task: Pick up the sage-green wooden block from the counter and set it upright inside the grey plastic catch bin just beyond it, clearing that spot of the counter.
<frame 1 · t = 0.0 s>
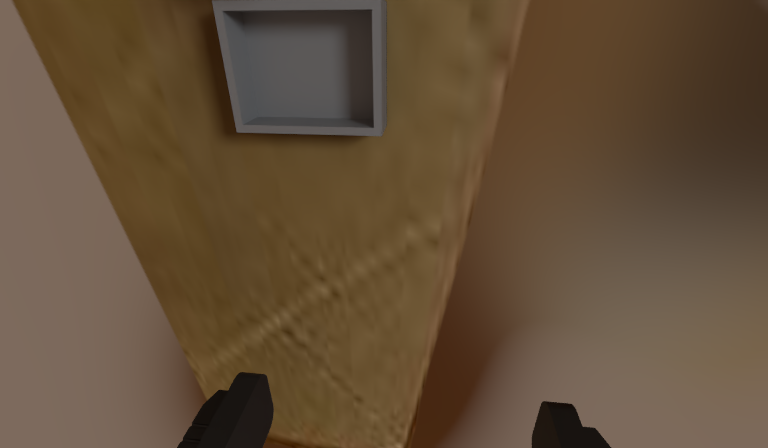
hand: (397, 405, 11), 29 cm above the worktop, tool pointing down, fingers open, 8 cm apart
catch bin: (314, 67, 35), on the worktop
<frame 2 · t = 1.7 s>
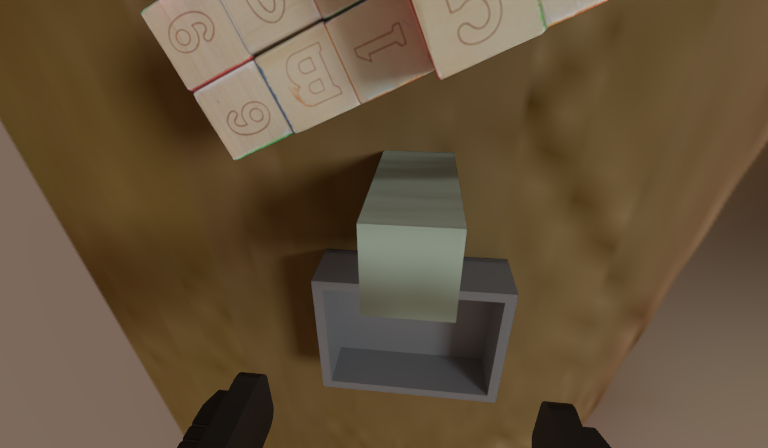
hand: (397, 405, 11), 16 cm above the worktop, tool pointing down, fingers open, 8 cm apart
sage block: (417, 187, 25), on the worktop
catch bin: (412, 308, 30), on the worktop
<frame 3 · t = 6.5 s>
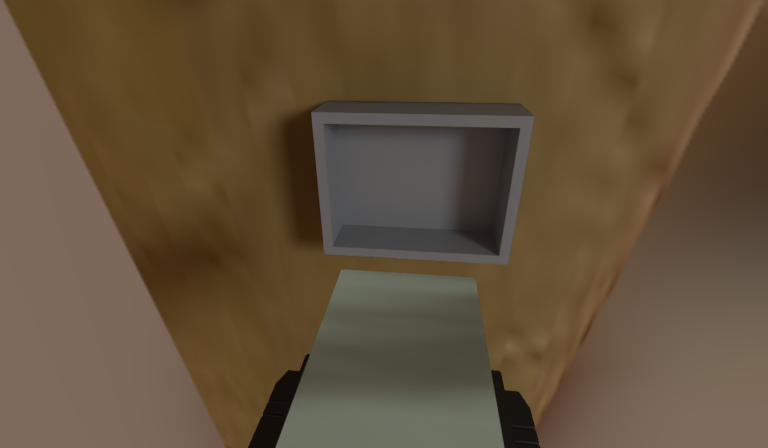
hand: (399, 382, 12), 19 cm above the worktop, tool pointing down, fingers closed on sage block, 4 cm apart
sage block: (405, 329, 14), point 17 cm above the worktop, touching gripper
catch bin: (418, 173, 28), on the worktop
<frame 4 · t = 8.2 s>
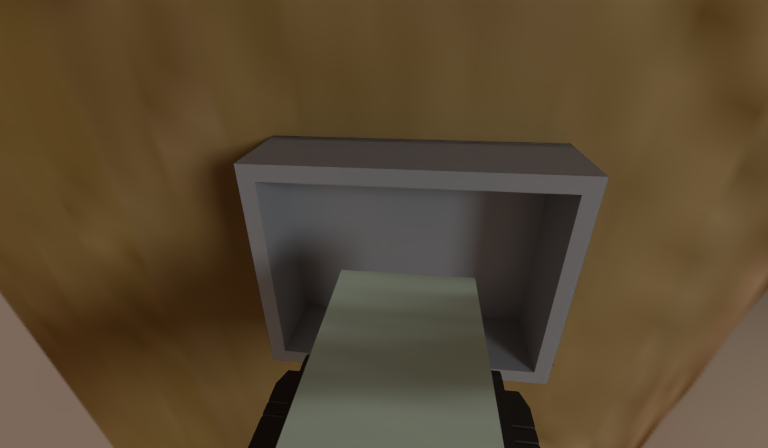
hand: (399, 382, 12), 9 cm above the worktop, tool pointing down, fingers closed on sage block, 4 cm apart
sage block: (405, 329, 14), point 6 cm above the worktop, touching gripper
catch bin: (412, 238, 19), on the worktop
when the fingers open (4 cm above the worktop, at t = 9.5 s): sage block drops 1 cm, resting on catch bin.
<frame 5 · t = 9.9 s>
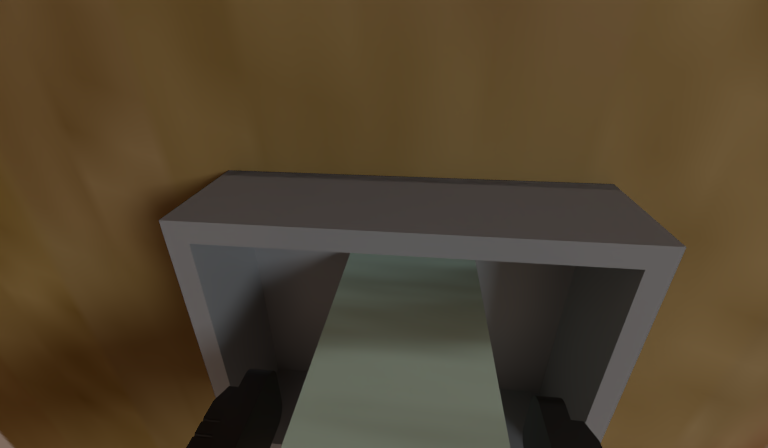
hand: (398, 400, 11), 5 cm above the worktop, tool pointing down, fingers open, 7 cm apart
sage block: (409, 303, 15), resting on catch bin
catch bin: (407, 295, 15), on the worktop
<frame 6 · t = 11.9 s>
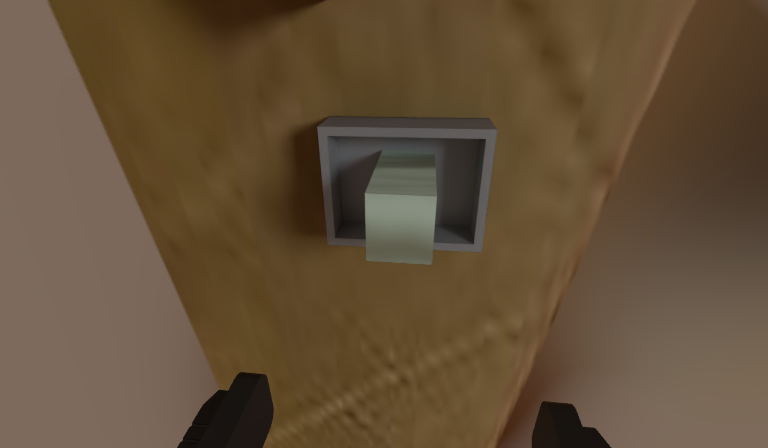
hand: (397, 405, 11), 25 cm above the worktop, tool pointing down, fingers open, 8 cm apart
sage block: (407, 177, 33), resting on catch bin
catch bin: (406, 176, 34), on the worktop
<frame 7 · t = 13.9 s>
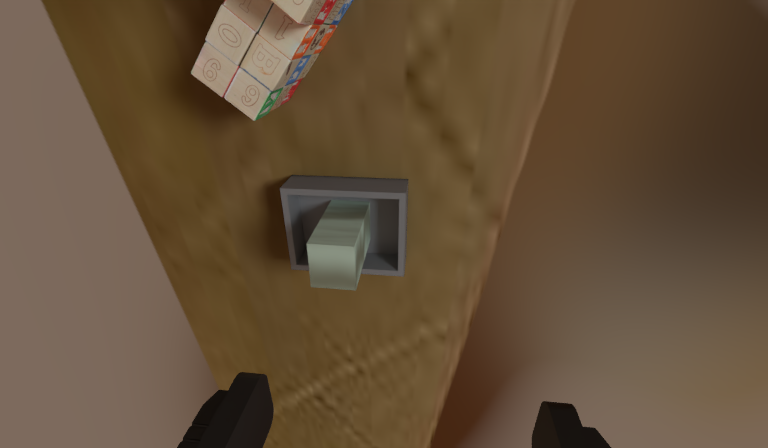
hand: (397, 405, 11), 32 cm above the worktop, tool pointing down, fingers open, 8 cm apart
sage block: (351, 219, 44), resting on catch bin
catch bin: (351, 217, 45), on the worktop
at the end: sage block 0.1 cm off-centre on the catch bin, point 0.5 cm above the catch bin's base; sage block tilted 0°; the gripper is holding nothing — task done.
